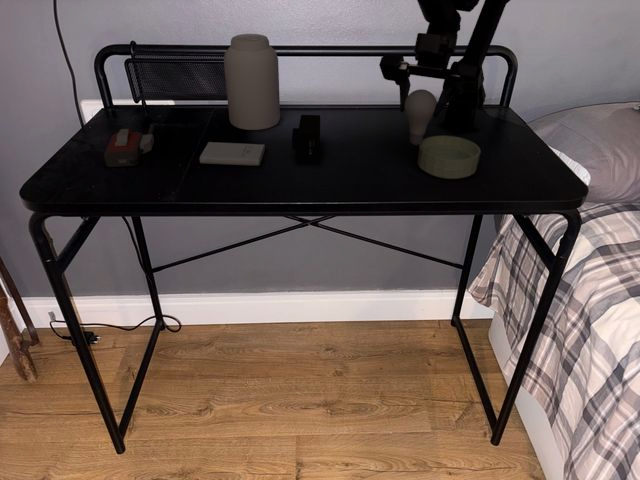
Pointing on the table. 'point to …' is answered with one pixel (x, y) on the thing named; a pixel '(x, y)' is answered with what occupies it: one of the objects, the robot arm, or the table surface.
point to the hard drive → (232, 154)
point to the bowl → (448, 156)
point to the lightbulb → (419, 113)
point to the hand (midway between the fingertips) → (417, 114)
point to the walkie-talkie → (128, 147)
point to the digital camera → (307, 139)
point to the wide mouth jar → (252, 82)
